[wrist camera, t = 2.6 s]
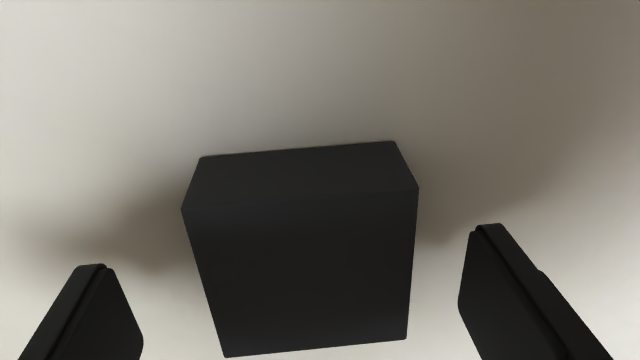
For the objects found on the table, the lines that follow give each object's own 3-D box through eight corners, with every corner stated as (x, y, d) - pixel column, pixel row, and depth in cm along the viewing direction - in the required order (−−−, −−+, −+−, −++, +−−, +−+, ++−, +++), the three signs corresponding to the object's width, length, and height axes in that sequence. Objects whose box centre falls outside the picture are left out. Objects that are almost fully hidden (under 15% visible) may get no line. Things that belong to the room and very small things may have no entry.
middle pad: (198, 156, 11) (178, 208, 9) (395, 139, 11) (420, 186, 9) (233, 295, 14) (223, 359, 12) (388, 279, 14) (407, 341, 12)
